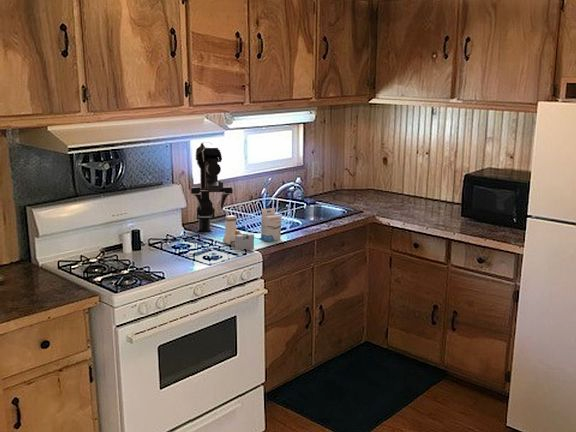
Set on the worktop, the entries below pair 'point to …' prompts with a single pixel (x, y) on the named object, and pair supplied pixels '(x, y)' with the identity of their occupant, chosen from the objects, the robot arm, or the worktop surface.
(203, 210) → the robot arm
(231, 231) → the cream bottle
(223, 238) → the steel rail
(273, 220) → the ink box
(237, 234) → the gauge plunger
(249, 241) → the gauge cabinet
